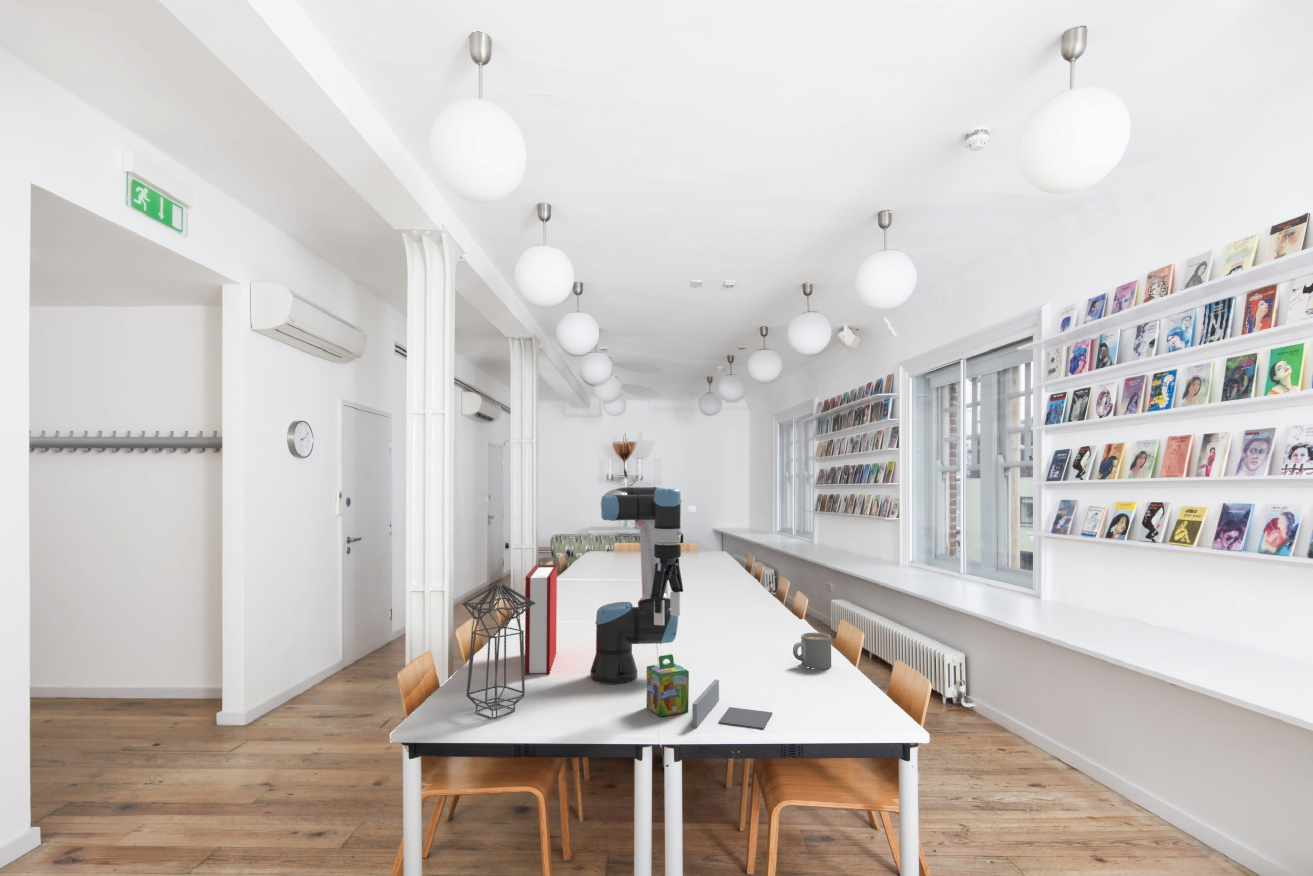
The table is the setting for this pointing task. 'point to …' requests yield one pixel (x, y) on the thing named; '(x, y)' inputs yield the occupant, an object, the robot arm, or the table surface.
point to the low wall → (705, 703)
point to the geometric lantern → (504, 591)
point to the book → (541, 619)
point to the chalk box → (667, 687)
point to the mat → (745, 718)
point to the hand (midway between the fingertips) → (667, 620)
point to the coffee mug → (814, 650)
